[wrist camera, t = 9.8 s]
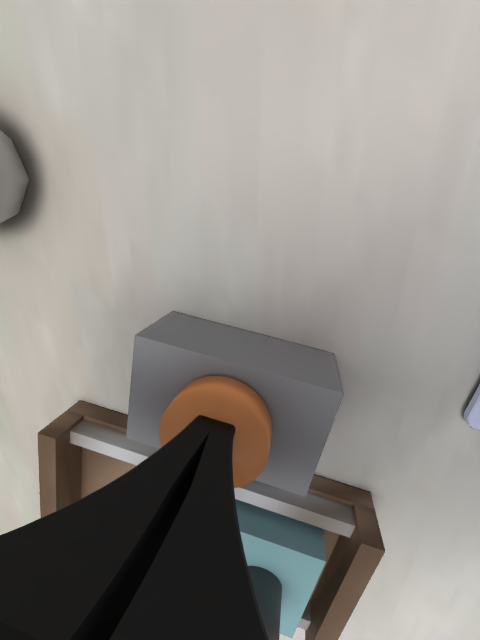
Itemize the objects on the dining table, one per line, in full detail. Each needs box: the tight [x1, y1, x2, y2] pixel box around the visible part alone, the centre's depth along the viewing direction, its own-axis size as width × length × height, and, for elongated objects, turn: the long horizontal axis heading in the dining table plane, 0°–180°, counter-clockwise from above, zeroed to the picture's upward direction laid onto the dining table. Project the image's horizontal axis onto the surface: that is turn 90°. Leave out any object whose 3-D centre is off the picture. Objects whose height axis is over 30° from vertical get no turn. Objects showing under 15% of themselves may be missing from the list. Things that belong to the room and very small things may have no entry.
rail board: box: [38, 401, 385, 640], centre depth 17 cm, size 17×9×3 cm, turn 78°
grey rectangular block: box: [126, 311, 344, 497], centre depth 13 cm, size 8×5×4 cm, turn 78°
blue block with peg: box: [235, 499, 326, 640], centre depth 14 cm, size 5×6×6 cm
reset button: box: [159, 376, 272, 488], centre depth 12 cm, size 4×4×4 cm
